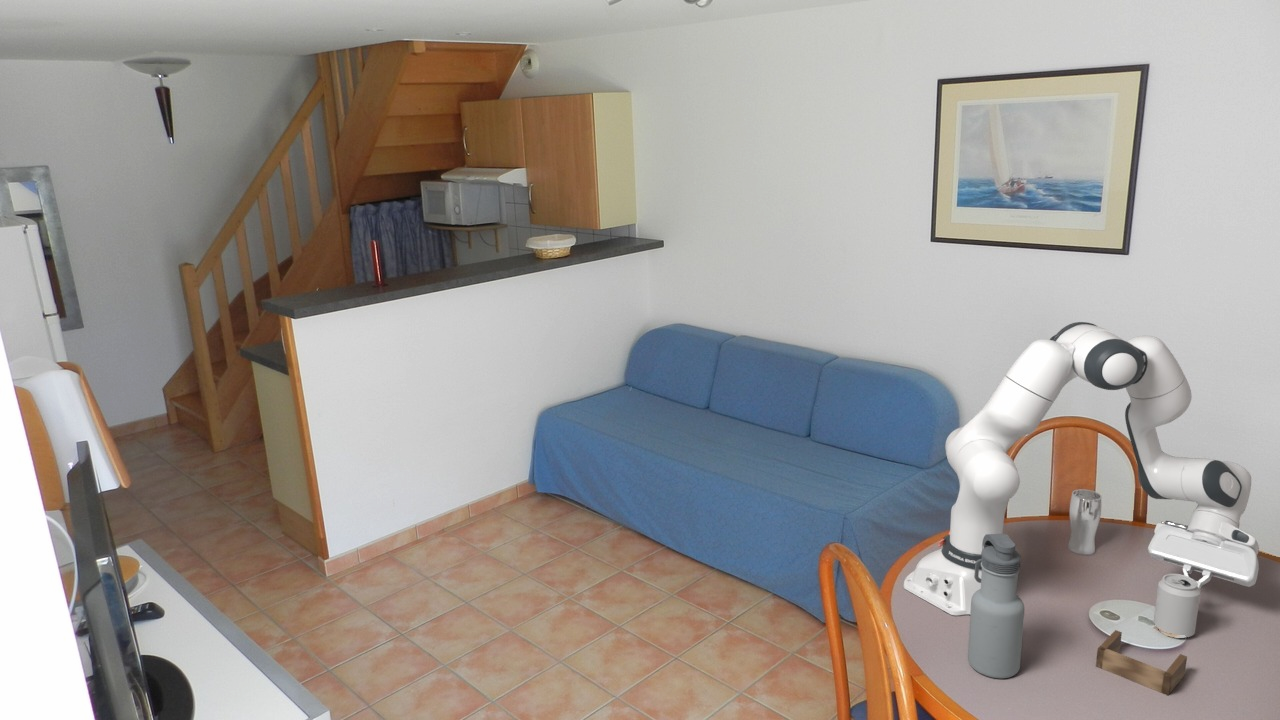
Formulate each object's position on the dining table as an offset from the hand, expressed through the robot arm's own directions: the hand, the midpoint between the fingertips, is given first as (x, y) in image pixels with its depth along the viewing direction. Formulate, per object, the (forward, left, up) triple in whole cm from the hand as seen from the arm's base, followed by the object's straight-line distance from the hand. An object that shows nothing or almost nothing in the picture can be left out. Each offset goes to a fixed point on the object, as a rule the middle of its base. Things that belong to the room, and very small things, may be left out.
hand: (1191, 589), depth 184 cm
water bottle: (-21, -46, -6) cm, 51 cm away
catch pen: (0, -27, -6) cm, 27 cm away
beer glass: (-28, +14, -6) cm, 32 cm away
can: (0, -9, -6) cm, 11 cm away
